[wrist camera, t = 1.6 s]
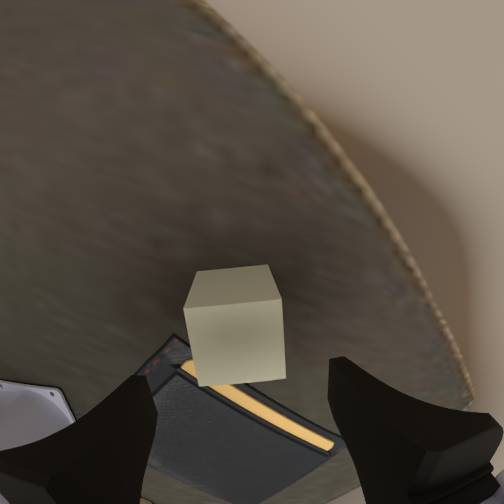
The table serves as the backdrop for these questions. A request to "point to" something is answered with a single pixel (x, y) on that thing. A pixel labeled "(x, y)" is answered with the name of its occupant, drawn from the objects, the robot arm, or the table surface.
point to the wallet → (228, 433)
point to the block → (235, 326)
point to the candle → (144, 501)
